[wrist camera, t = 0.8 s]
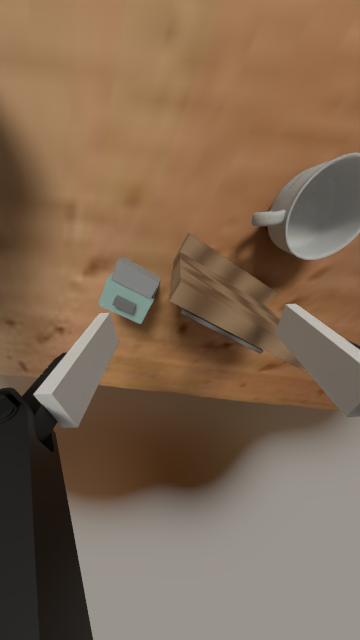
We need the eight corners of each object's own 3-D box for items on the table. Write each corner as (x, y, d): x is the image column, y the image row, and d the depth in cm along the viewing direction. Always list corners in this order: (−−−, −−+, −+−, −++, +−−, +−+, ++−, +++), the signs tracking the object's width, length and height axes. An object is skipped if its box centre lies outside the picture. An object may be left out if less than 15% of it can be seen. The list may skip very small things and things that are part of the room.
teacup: (345, 178, 24) (411, 161, 17) (306, 255, 30) (344, 265, 23) (254, 162, 23) (286, 137, 16) (232, 245, 29) (249, 253, 22)
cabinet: (116, 288, 33) (93, 312, 24) (131, 248, 29) (111, 259, 20) (147, 303, 35) (137, 331, 26) (166, 268, 31) (161, 287, 22)
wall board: (166, 273, 31) (154, 325, 16) (188, 233, 28) (200, 248, 12) (245, 318, 36) (293, 389, 21) (272, 289, 33) (353, 348, 18)
